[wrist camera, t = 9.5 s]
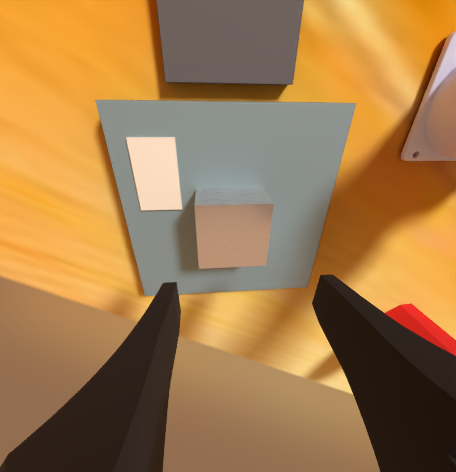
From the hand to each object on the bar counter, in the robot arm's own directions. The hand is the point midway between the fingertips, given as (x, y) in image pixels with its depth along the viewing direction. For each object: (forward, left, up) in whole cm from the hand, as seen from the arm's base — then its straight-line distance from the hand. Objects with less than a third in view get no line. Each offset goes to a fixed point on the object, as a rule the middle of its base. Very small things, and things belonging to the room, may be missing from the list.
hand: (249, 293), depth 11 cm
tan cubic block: (0, 0, -10) cm, 10 cm away
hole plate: (0, 0, -10) cm, 10 cm away
